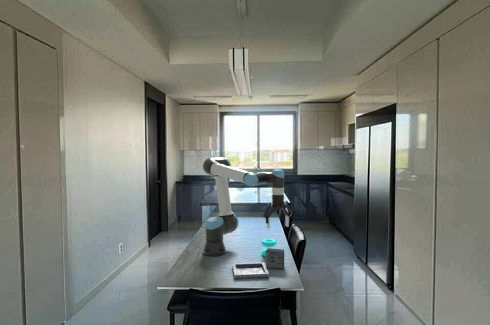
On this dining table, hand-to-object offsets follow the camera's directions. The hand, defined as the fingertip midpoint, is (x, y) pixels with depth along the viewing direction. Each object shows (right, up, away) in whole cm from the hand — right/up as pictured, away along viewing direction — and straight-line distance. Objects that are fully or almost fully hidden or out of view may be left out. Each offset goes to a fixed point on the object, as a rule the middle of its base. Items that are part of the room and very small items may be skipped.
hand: (277, 227), depth 204 cm
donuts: (-5, -21, +11) cm, 24 cm away
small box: (-3, -22, -10) cm, 24 cm away
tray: (-18, -22, -19) cm, 34 cm away
